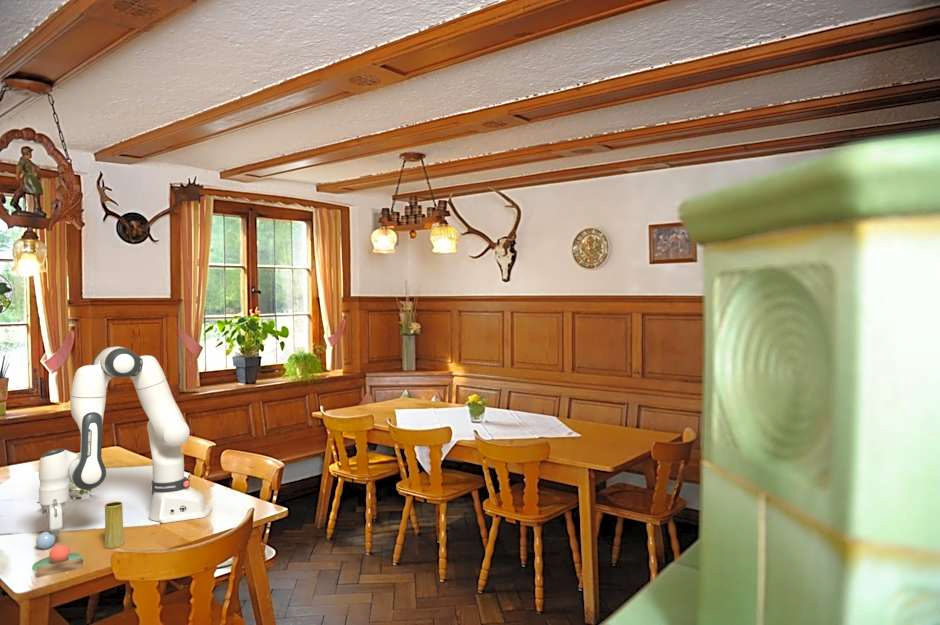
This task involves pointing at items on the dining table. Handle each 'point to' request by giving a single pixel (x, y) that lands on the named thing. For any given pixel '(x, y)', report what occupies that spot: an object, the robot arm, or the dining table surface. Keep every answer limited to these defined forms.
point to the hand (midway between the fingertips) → (54, 535)
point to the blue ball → (45, 540)
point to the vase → (113, 525)
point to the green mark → (47, 561)
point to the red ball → (59, 554)
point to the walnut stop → (59, 567)
